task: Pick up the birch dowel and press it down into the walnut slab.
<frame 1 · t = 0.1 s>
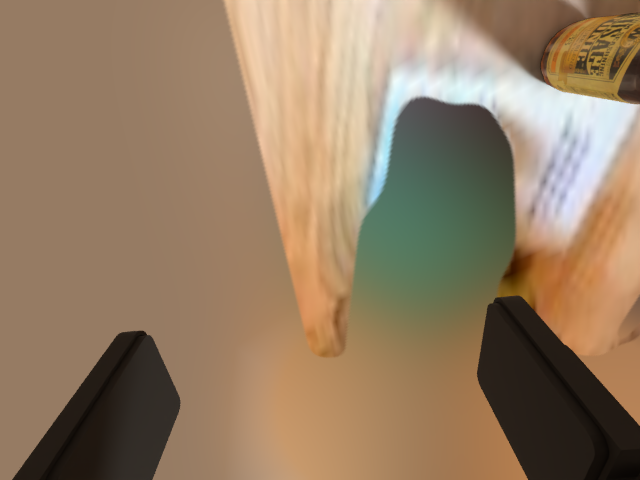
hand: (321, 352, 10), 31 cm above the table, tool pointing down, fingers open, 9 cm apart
sauce bottle: (565, 59, 34), on the table
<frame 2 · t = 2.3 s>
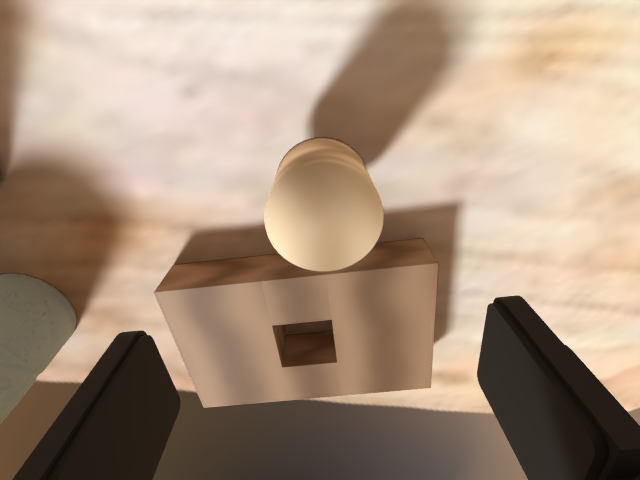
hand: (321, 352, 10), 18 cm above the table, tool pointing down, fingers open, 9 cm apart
grey green cup: (30, 306, 32), on the table
birch dowel: (321, 169, 26), on the table
walnut slab: (306, 313, 33), on the table
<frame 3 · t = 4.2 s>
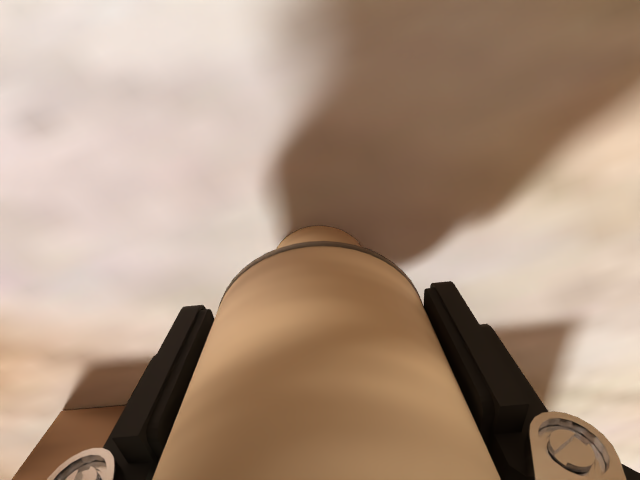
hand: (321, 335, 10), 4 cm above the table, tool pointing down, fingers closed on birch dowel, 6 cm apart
birch dowel: (319, 268, 13), on the table, touching gripper
walnut slab: (294, 471, 20), on the table
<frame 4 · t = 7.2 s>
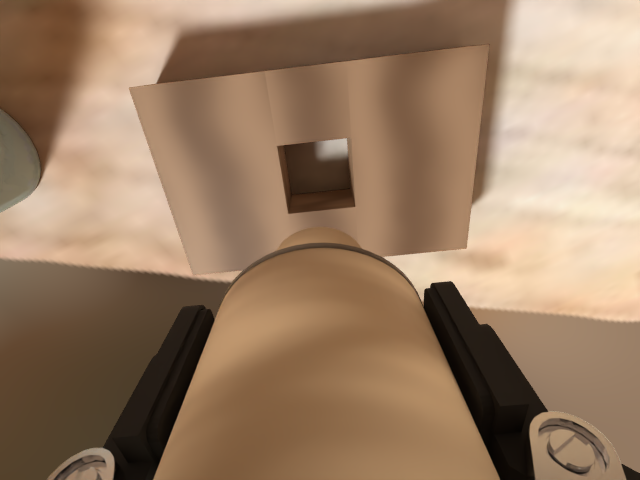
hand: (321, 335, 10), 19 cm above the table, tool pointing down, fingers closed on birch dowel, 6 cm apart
birch dowel: (319, 270, 13), point 16 cm above the table, touching gripper
walnut slab: (317, 162, 27), on the table
when the fingers open (4 cm above the table, at t = 10.5 s): birch dowel stays where it is, resting on walnut slab.
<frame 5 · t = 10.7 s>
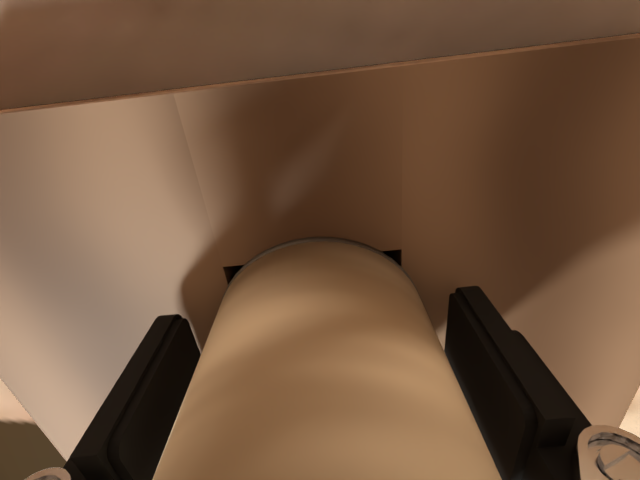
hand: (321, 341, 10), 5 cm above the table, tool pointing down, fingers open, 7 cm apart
birch dowel: (319, 265, 14), resting on walnut slab
walnut slab: (319, 260, 14), on the table
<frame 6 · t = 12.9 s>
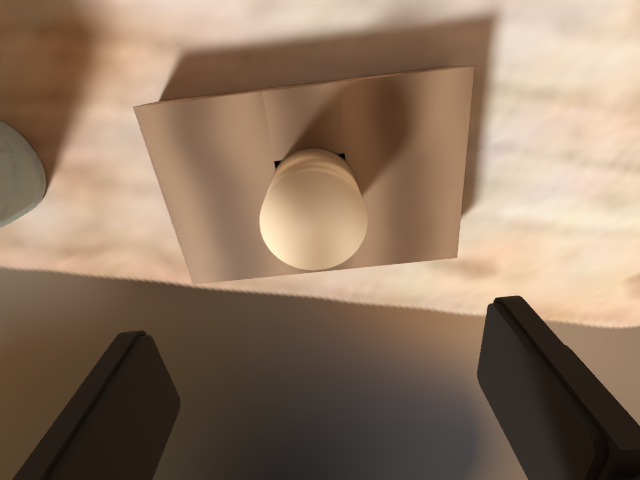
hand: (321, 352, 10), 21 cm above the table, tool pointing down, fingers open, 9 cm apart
birch dowel: (313, 176, 28), resting on walnut slab
walnut slab: (313, 175, 28), on the table
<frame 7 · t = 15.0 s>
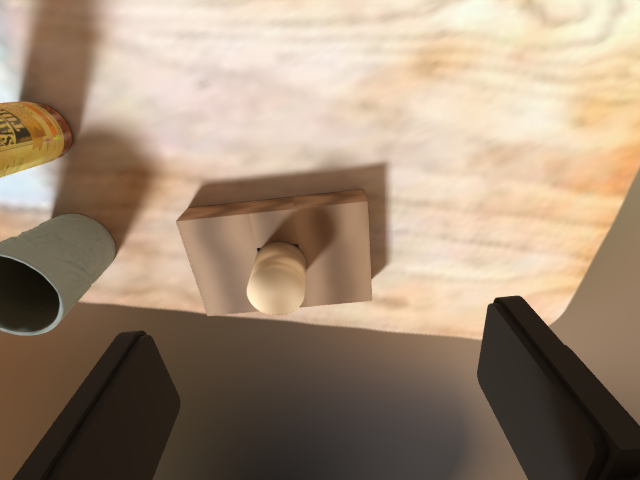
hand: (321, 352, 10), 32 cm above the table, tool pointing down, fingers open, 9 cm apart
grey green cup: (83, 240, 44), on the table
birch dowel: (283, 249, 44), resting on walnut slab
sauce bottle: (45, 128, 38), on the table
walnut slab: (283, 247, 45), on the table
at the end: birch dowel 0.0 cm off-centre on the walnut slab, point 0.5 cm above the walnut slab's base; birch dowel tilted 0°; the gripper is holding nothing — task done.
